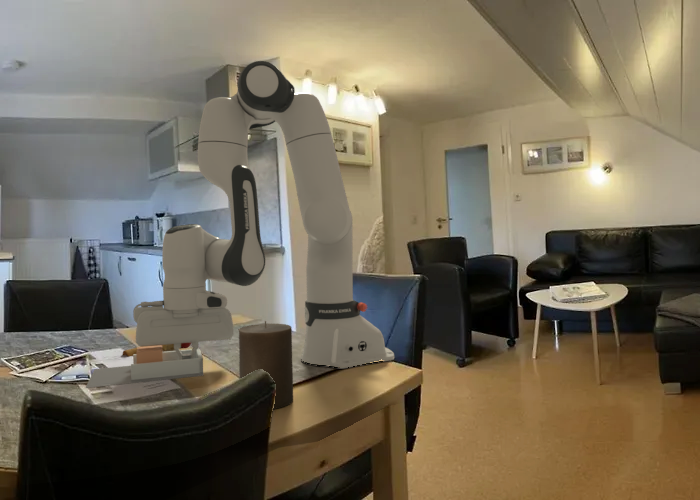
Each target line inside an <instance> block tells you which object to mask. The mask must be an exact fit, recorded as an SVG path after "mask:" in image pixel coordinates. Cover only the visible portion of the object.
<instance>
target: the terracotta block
mask: <svg viewBox="0 0 700 500" xmlns="http://www.w3.org/2000/svg"><path fill="white" fill-rule="evenodd" d="M136 348H137V352H136V356H137V364H140V363H151V362H162V361H163V352H164V351H163V350H162V345H158V346H146V347H140V346H137V347H136Z"/></svg>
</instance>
